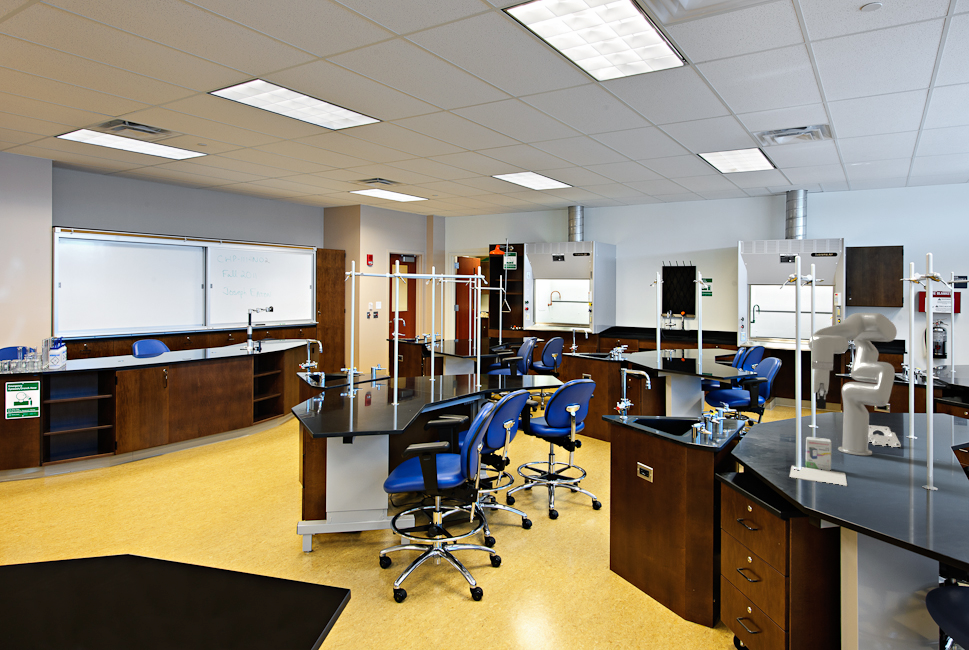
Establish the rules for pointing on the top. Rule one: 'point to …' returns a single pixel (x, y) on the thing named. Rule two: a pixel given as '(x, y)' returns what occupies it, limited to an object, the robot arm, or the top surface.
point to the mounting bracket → (883, 437)
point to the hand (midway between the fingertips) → (821, 407)
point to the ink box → (818, 453)
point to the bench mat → (819, 475)
